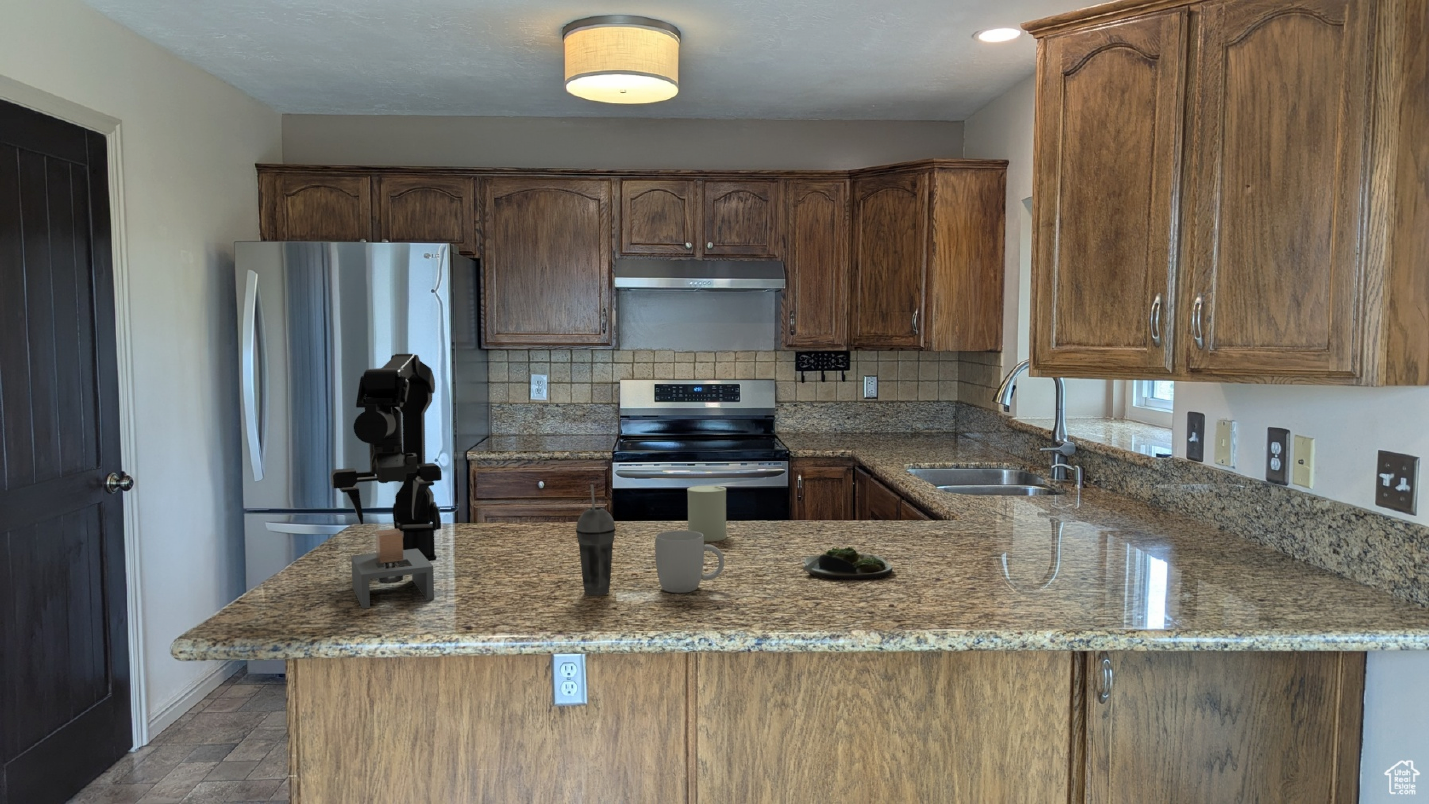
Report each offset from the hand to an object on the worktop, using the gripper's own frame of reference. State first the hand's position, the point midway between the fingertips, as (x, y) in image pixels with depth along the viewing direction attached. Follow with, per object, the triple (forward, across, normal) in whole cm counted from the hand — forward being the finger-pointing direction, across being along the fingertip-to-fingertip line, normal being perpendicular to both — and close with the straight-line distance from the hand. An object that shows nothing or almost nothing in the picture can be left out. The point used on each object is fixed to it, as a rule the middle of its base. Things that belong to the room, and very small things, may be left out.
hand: (388, 521), depth 168 cm
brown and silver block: (+11, 0, -1) cm, 11 cm away
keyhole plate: (+13, 0, -2) cm, 13 cm away
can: (+13, +72, +11) cm, 74 cm away
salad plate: (+13, +82, -30) cm, 88 cm away
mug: (+13, +49, -27) cm, 57 cm away
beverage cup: (+13, +33, -21) cm, 41 cm away
